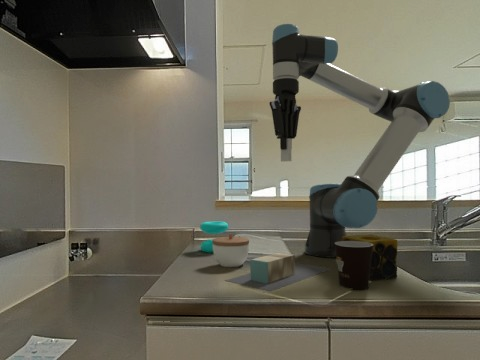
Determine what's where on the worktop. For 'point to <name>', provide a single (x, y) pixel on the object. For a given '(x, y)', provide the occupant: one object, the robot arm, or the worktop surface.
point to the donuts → (212, 228)
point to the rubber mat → (300, 273)
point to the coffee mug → (354, 264)
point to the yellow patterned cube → (380, 255)
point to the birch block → (272, 267)
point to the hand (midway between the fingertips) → (286, 161)
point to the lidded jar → (230, 250)
